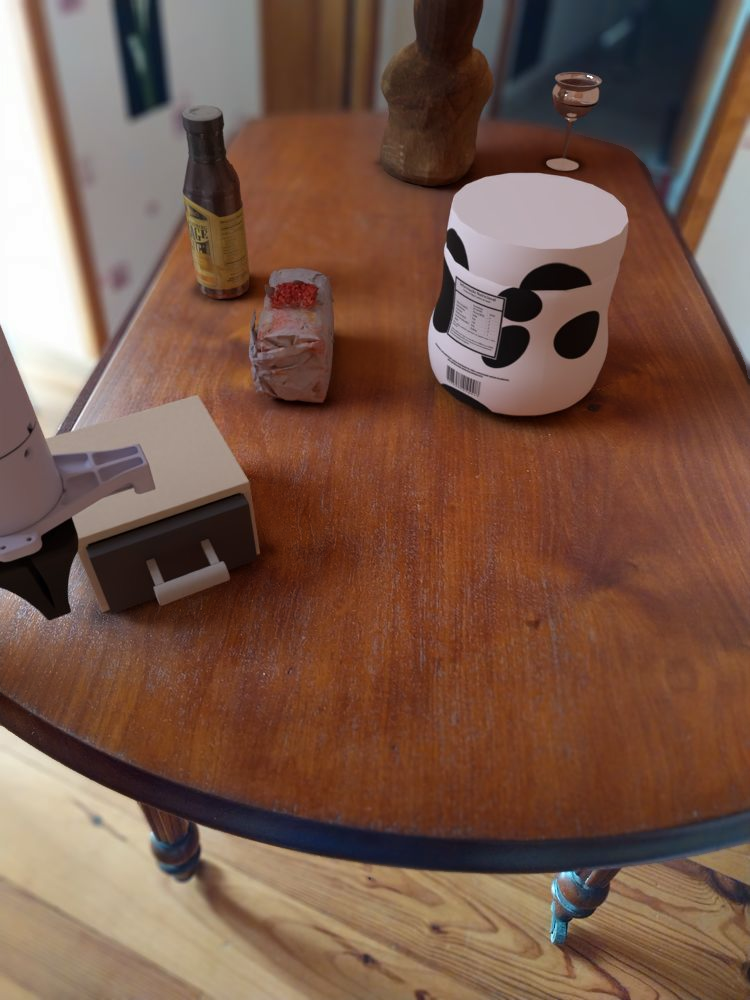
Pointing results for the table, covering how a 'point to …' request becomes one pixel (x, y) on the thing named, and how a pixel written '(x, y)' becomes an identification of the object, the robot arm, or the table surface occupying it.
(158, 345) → the table surface
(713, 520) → the table surface
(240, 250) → the sauce bottle
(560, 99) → the wineglass
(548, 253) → the milk container
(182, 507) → the beige box-shaped shell
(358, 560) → the table surface
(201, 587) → the drawer
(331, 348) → the food item
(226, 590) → the table surface
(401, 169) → the ceramic vessel
